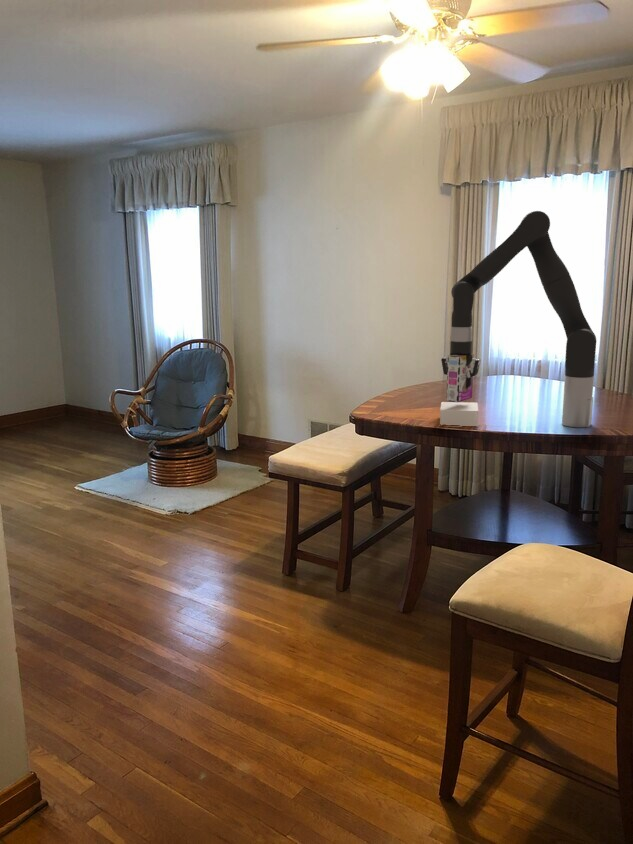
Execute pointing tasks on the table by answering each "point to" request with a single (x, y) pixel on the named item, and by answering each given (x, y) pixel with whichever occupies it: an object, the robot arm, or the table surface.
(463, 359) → the candy bar box
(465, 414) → the white rectangular block
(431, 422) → the table surface
